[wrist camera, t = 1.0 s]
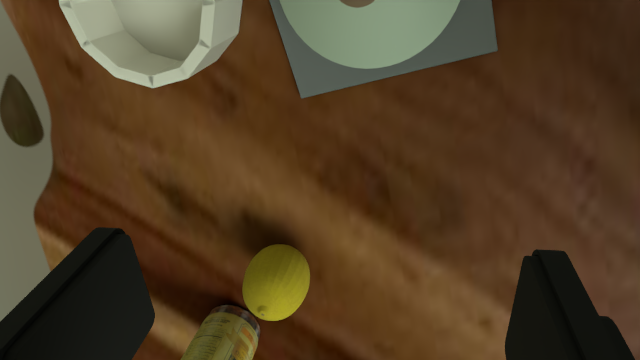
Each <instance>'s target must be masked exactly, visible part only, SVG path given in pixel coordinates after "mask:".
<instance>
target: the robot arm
mask: <svg viewBox="0 0 640 360" xmlns="http://www.w3.org/2000/svg"><path fill="white" fill-rule="evenodd" d="M154 318H155V313H154V309H153V306H152V303H151V300H150V296H149V293H148V290H147V287H146V284H145V281H144V278H143V275H142V272H141V268H140V265H139V262H138V259H137V256H136V253H135V250H134V247H133V244H132V240H131V238H130V237H129V236H128V235H126V234H125V232H124V231H123V230H122V229H119V228H101V227H99V228H96V229H94V230H93V231H92V232H91V233H90V234H89V235H88V236H87V237H86V238H85V239H84V240H83V241H82V242H81V243H80V244H79V245H78V246H77V247H76V248H75V249H74V250H73V251H72V252H71V253H70V254H69V255H67V256H66V257H65V258H64V259H63V260H62V261H61V262H60V263H59V264H58V265H57V266H56V267H55V268H54V269H53V270H52V271H51V272H50V273H49V274H48V275H47V276H46V277H45V278H44V279H43V280H42V281H41V282H40V283H39V284H38V285H37V286H36V287H35V288H34V289H33V290H32V291H31V292H30V293H29V294H28V295H27V296H26V297H25V298H24V299H23V300H22V301H21V302H20V303H19V304H18V305H17V306H16V307H15V308H14V309H13V310H12V311H11V312H10V313H9V314H8V315H7V316H6V317H5V318H4V319H3V320H2V321H1V322H0V360H132V358H133V356H134V355H135V353H136V352H137V350H138V348H139V347H140V345H141V344H142V342H143V340H144V339H145V337H146V335H147V334H148V332H149V331H150V329H151V327H152V325H153V323H154ZM505 354H506V360H635V358H634V357H633V355H632V353H631V351H630V349H629V348H628V346H627V344H626V342H625V340H624V338H623V337H622V335H621V333H620V331H619V329H618V328H617V326H616V324H615V323H614V322H613V320H612V319H610V318H609V317H606V316H599V315H598V313H597V311H596V309H595V307H594V306H593V304H592V302H591V300H590V298H589V296H588V294H587V292H586V290H585V288H584V286H583V284H582V282H581V280H580V278H579V277H578V275H577V273H576V271H575V269H574V267H573V265H572V263H571V261H570V259H569V257H568V255H567V254H566V252H564V251H555V250H534V252H533V254H532V256H525V257H524V258H523V262H522V266H521V271H520V276H519V280H518V285H517V289H516V294H515V299H514V303H513V308H512V313H511V317H510V322H509V326H508V331H507V336H506V341H505Z"/></svg>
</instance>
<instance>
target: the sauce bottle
mask: <svg viewBox="0 0 640 360" xmlns="http://www.w3.org/2000/svg"><path fill="white" fill-rule="evenodd" d="M260 332H261V331H260V327H259V324H258V323H257V321H256V319H255V317H254V316H253V314H251V313H250V312H248V311H246V310H244V309H242V308H240V307H238V306H233V305H221V306H218V307H215V308H214V309H213V310H212V311H211V312H210V314H209V315H208V317H206V319H205V320H204V321H203V323H202V325H201V326H200V328H199V330H198V331H197V333H196V335H195V336H194V338H193V340H192V341H191V343H190V345H189V347H188V348H187V350H186V352H185V353H184V355H183V357H182V358H181V360H252V358H253V356H254V353H255V351H256V348H257V345H258V339H259V337H260Z"/></svg>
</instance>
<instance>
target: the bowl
mask: <svg viewBox="0 0 640 360" xmlns="http://www.w3.org/2000/svg"><path fill="white" fill-rule="evenodd" d="M242 1H243V0H59V5H60V7H61V9H62V11H63V13H64V15H65V17H66V19H67V21H68V23H69V25H70V27H71V28H72V30H73V32H74V34H75V36H76V38H77V40H78V42H79V44H80V46H81V48H82V49H84V50H85V51H86V52H87V53H88V54H89V55H90V56H92V57H93V58H94V59H95V60H96V61H97V62H99V63H100V64H101V65H102V66H103V67H104V68H105V69H107V70H108V71H109V72H110V73H111V74H112V75H113V76H115V77H117V78H120V79H124V80H127V81H130V82H134V83H137V84H141V85H144V86H147V87H151V88H155V87H159V86H163V85H166V84H170V83H173V82H177V81H180V80H184V79H188V78H189V77H191V76H192V75H194V74H196V73H197V72H199V71H201V70H202V69H204V68H205V67H207V66H209V65H210V64H212V63H213V62H215V61H217V60H218V58H219V57H220V56H221V55H222V53H223V52H224V51H225V50H226V48H227V47H228V46H229V45H230V43H231V42H232V41H233V39H234V38H235V37H236V36H237V34H238V33H239V25H240V17H241V9H242Z"/></svg>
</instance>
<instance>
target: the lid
mask: <svg viewBox="0 0 640 360" xmlns="http://www.w3.org/2000/svg"><path fill="white" fill-rule="evenodd" d="M459 2H460V0H280V3H281V6H282V8H283V11H284V13H285V15H286V17H287V19H288V21H289V23H290V24H291V26H292V27H293V29H294V30H295V32H296V33H297V34H298V35H299V37H300V38H301V39H302V40H303V41H304V42H305V43H306V44H307V45H308V46H309V47H310V48H312V49H313V50H314V51H315V52H317V53H318V54H320V55H321V56H323V57H325V58H327V59H329V60H331V61H333V62H335V63H338V64H341V65H344V66H348V67H353V68H363V69H371V68H381V67H387V66H391V65H394V64H397V63H400V62H402V61H404V60H407V59H409V58H411V57H413V56H414V55H416V54H417V53H419V52H421V51H422V50H423V49H424V48H426V47H427V46H428V45H429V44H431V43H432V42H433V41H434V40H435V39H436V38H437V37H438V36H439V34H440V33H441V32H442V31H443V30H444V28H445V27H446V26H447V24H448V23H449V21H450V20H451V18H452V16H453V14H454V13H455V11H456V9H457V6H458V4H459Z"/></svg>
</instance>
